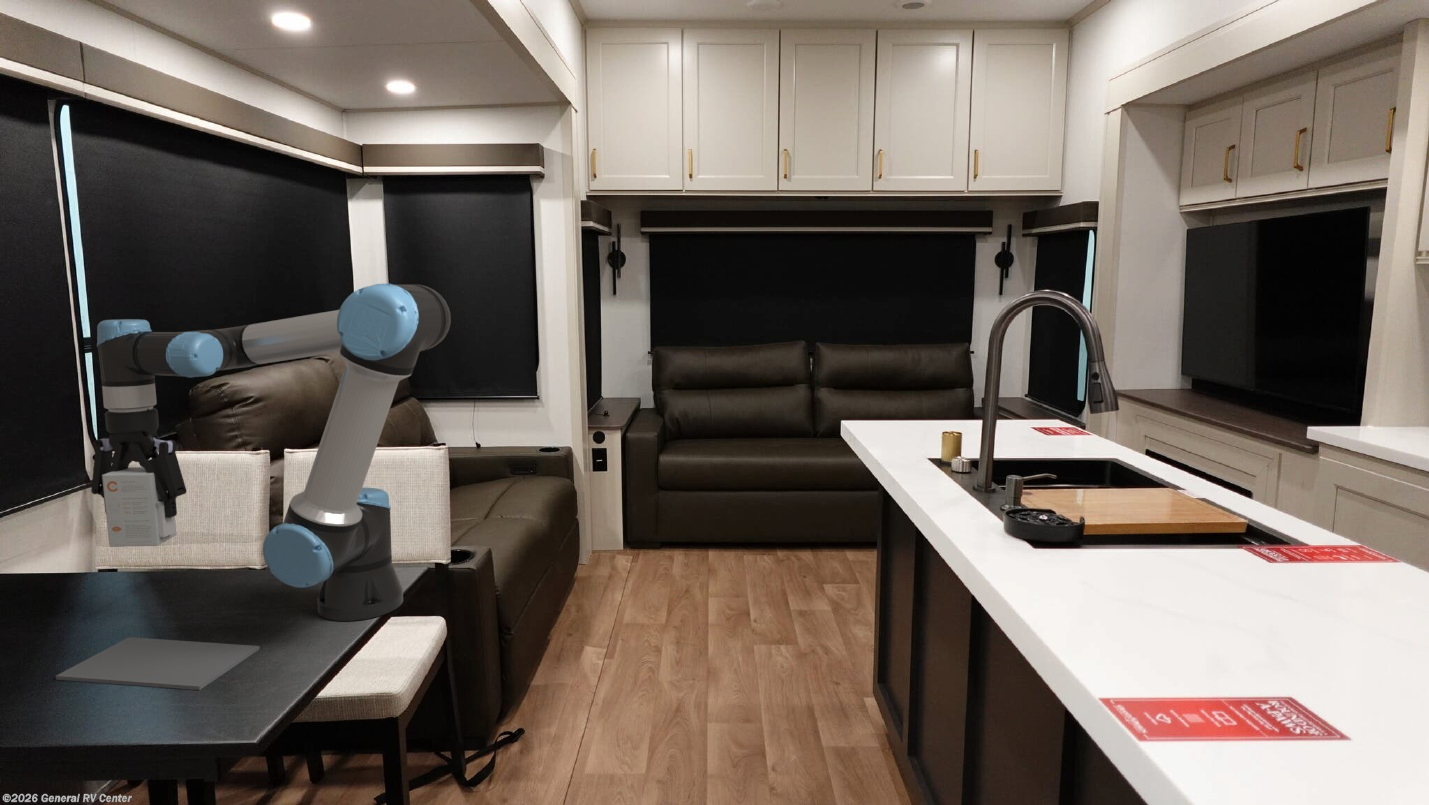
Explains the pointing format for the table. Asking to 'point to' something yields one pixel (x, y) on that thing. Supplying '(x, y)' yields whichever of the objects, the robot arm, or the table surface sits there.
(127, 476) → the small box
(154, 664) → the mat
